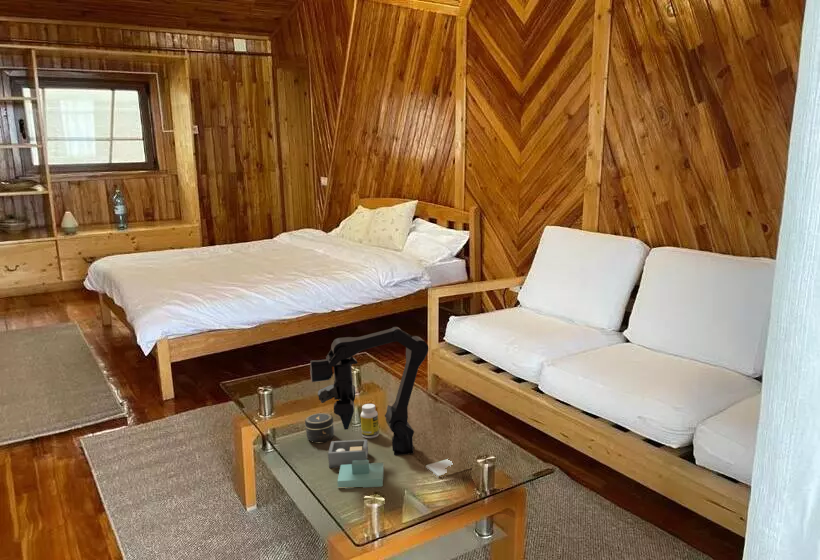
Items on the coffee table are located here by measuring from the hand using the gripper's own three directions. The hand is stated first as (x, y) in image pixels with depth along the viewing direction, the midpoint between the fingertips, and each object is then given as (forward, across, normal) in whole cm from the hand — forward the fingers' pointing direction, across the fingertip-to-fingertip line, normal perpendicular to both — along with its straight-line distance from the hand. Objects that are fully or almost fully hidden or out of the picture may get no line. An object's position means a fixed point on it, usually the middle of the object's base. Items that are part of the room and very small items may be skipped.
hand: (346, 423), depth 200 cm
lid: (+13, +14, +4) cm, 19 cm away
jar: (+13, -19, -11) cm, 26 cm away
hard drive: (+14, +11, +32) cm, 36 cm away
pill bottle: (+13, -18, +7) cm, 23 cm away
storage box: (+13, 0, 0) cm, 13 cm away
